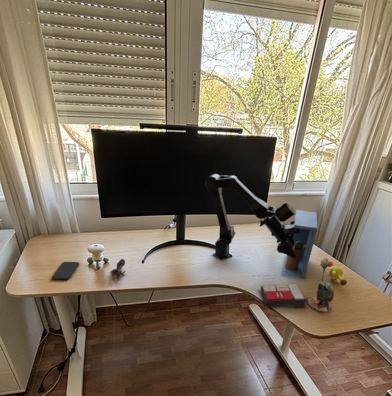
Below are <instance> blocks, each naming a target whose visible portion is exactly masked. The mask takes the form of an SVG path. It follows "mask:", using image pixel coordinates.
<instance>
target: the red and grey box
mask: <svg viewBox="0 0 392 396" xmlns="http://www.w3.org/2000/svg"><path fill="white" fill-rule="evenodd" d="M259 292H260V295H261V297H262V301H263V303H264V306H265V307H266V308H279V307H280V308H281V307H283V308H284V307H293V308H305V305H306V300H307V298H306V297H305V296H304V294H303V292H302V290H301V288H300V287H299V285H298V284H295V283H292V284H287V283H282V284H281V283H279V284H262V285H260V290H259Z"/></svg>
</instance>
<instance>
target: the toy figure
mask: <svg viewBox="0 0 392 396" xmlns="http://www.w3.org/2000/svg"><path fill="white" fill-rule="evenodd" d="M328 262H329V265H328V266H327V268H329V270H330V271H329V272H328V275H329V276H330V277H331V279H330V280H331V281H332V282H333V283H334V282H335V283H337V280H340V281H339V283H340V285H342V286H345V285H347V284H348V280H346V279H344V278H343V275H344V271H343V269H342V268H341V267H339V266H334V263H333V262H332V261H328Z"/></svg>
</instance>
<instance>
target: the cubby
mask: <svg viewBox="0 0 392 396" xmlns="http://www.w3.org/2000/svg"><path fill="white" fill-rule="evenodd" d="M294 221H295V222H294V228H300V232H299V233H294V234H293V240H294V242H296V241H301V242H303V245H306V248H302V253H301V257H300V261H299V265H298V269H297V270H288V269H286V268H285V266H284V267H283V268H284V269H283V276H286V277H291V278H296V279H301V280H305V277H306V274H307V269H308V265H309V263H310V258H311V255H312V251H313V247H314V243H315V239H316V236H317V232H318V228H319V227H318V214H317V211H309V210H302V209H296V210H295V215H294ZM286 258H287V255H286V256H285V259H286ZM285 262H286V260H285V261H284V263H285Z"/></svg>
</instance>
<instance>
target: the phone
mask: <svg viewBox="0 0 392 396" xmlns="http://www.w3.org/2000/svg"><path fill="white" fill-rule="evenodd" d="M79 265H80V263H79V261H63V262H62V263H61V264H60V266H58V267H57V269H56V270H55V272H54V273H53V275H52V276H51V279H52V280H55V281H57V280H60V281H61V280H63V281H64V280H65V281H67V280H70V279H71V277H72V276H73V274H74V273H75V271H76V269H77V268H78V266H79Z"/></svg>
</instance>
